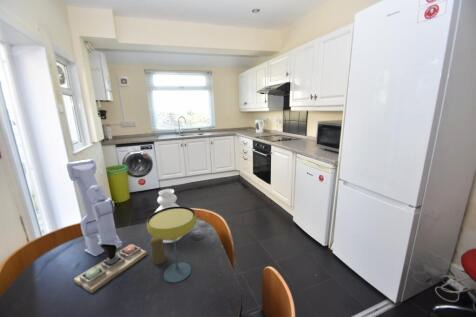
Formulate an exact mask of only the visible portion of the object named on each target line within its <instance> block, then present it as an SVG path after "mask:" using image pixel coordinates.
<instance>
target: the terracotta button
mask: <svg viewBox="0 0 476 317" xmlns="http://www.w3.org/2000/svg"><path fill="white" fill-rule="evenodd" d="M127 246H128V245H127ZM127 246H125V247H126V248H125V247H124V248H125V249H124V251H125V254H127V255H129V254H131V253H132V252H134V251H135V246H136V245H135V246H128V247H127Z"/></svg>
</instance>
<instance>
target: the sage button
mask: <svg viewBox="0 0 476 317" xmlns="http://www.w3.org/2000/svg"><path fill="white" fill-rule="evenodd" d="M89 269H90V268H89ZM89 269H88V270H89ZM86 271H87V270H86ZM98 274H100V272H99V269H98V268H93V269H90V270H89V271H87V272H86V279H88V280H91V279H92V278H94V277H95V276H97V275H98Z"/></svg>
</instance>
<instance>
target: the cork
mask: <svg viewBox="0 0 476 317" xmlns="http://www.w3.org/2000/svg"><path fill="white" fill-rule="evenodd" d="M163 244H164V243H163V239H158V238H155V237H153V236H152V238H151V239H150V246H151V247H152V248H151V262H152V264H153V265H160V264H162V263H165V261H166V260H167V255H166V252H165V249H164V246H163Z"/></svg>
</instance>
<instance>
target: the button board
mask: <svg viewBox="0 0 476 317" xmlns="http://www.w3.org/2000/svg"><path fill="white" fill-rule="evenodd" d="M128 246H135V251H134V252H132V253H131V254H129V255H127V254H125V251H124V249H125V248H126V247H128ZM147 254H148V252H147V251H146V250H144V249H142V248H141V247H140V246H137V245H135V244H132V243H131V244H128V245H127V246H124V247H123V248H121V249H120V250H118V251H116V255H118V258H119V261H118V262H117V263H115V264H114V265H112V266H108V265H107V262H106V259H107V258H105V259H104V260H102V261H100V262H99V263H97V264H96V265H94V266H92V267H90V268H89V269H87V270H85V271H84V272H82V273H81V274H79V275H78V276H76V277H74V278H73V280H74V282H75V283H76V284H77V285H79V287H82V288H83V289H84V290H85V291H88V292H89V293H91V294H93V293H95V292H96V291H97V290H98V289H99V288H100V289H101V287H103V286H104V285H106V284H107V283H108V282H110V281H111V280H113V279H114V278H116V277H117V276H118V275H120V274H122V273H123V272H124V271H125V270H127V269H128V268H130V267H131V266H133V265H134V264H135V263H137V262H138V261H140V260H141V259H143V258H144V257H145V256H146V255H147ZM93 268H98V269H99V272H100V274H98V275H97V276H95V277H94V278H92V279H91V280H88V279H86V272H87V271H89V270H90V269H93Z"/></svg>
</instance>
